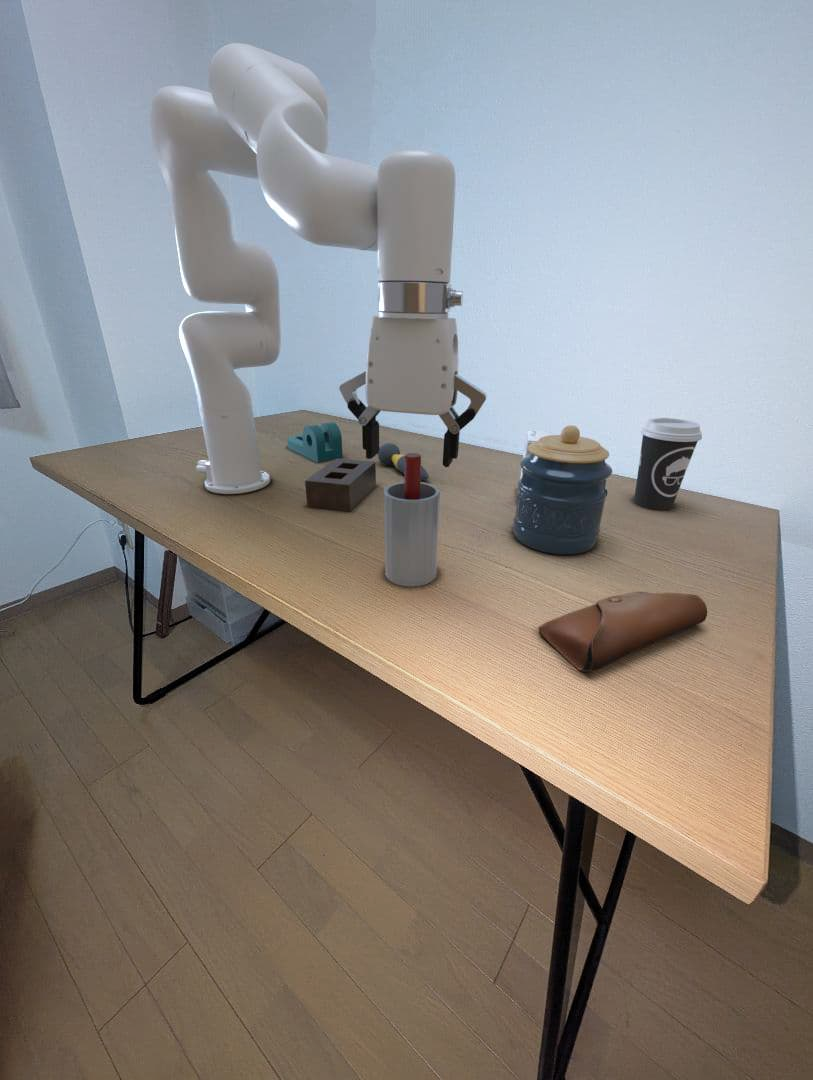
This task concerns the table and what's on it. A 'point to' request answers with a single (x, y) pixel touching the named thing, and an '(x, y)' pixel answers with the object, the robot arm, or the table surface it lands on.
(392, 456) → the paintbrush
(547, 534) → the canister
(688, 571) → the table surface
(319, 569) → the table surface
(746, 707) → the table surface
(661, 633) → the sunglasses case
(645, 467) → the coffee cup
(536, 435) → the ink box
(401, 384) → the robot arm
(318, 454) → the bracket
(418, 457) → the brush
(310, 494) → the holder
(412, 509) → the grey cylindrical cup
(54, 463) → the table surface
